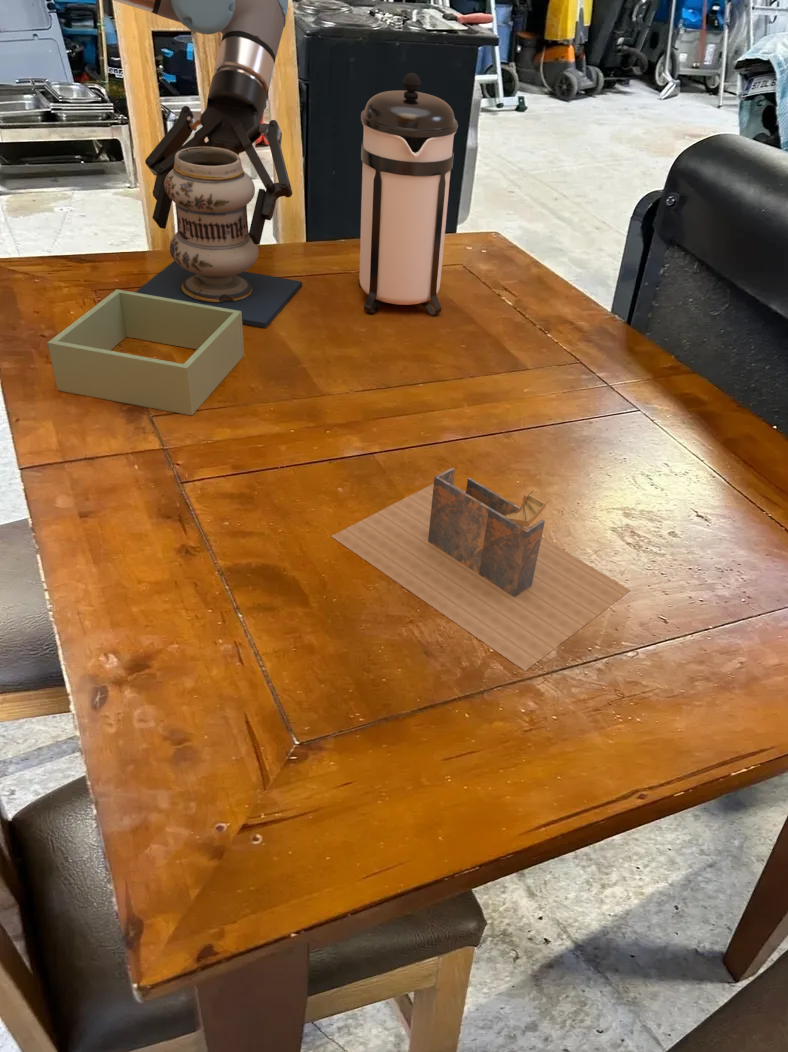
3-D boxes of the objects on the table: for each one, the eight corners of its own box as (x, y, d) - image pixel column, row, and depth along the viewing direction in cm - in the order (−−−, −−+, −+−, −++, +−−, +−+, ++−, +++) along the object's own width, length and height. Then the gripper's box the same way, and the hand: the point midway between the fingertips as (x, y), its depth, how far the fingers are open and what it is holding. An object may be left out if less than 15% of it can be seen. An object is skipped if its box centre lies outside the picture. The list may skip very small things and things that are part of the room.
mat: (127, 304, 123) (126, 298, 123) (176, 264, 135) (175, 259, 135) (265, 328, 121) (265, 322, 121) (302, 286, 134) (302, 281, 133)
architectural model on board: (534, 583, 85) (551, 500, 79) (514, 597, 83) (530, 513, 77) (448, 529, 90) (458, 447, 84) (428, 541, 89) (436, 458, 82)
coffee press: (472, 303, 135) (498, 79, 115) (401, 330, 125) (416, 91, 106) (390, 267, 143) (401, 52, 123) (316, 290, 133) (316, 61, 113)
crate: (57, 390, 104) (46, 342, 100) (123, 333, 116) (116, 288, 112) (192, 415, 102) (187, 368, 98) (244, 355, 115) (241, 311, 111)
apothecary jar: (192, 311, 121) (178, 171, 110) (162, 279, 129) (146, 144, 117) (274, 299, 127) (269, 165, 115) (241, 269, 134) (233, 139, 122)
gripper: (333, 116, 125) (300, 259, 123) (165, 90, 127) (131, 230, 125) (322, 80, 117) (287, 232, 116) (143, 53, 119) (107, 202, 118)
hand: (206, 231), depth 120 cm, fingers open, 13 cm apart
